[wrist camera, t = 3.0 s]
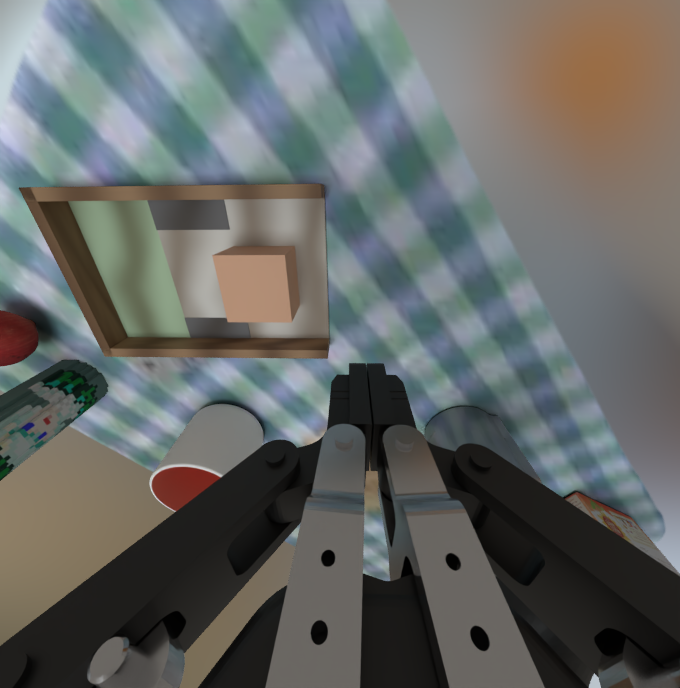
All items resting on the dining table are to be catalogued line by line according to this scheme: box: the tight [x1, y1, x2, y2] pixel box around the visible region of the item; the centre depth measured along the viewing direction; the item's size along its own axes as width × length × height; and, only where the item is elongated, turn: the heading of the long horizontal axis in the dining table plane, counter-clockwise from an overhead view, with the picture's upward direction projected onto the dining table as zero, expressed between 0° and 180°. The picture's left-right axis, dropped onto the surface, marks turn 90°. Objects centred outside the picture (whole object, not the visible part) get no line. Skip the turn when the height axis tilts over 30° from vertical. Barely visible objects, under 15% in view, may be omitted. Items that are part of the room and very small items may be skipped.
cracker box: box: [565, 492, 680, 576], centre depth 36 cm, size 14×6×21 cm, turn 60°
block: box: [212, 246, 300, 323], centre depth 25 cm, size 6×6×4 cm
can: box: [0, 360, 108, 480], centre depth 28 cm, size 6×6×15 cm
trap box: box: [19, 184, 329, 359], centre depth 26 cm, size 24×16×3 cm, turn 91°
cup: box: [150, 404, 263, 512], centre depth 34 cm, size 10×10×10 cm
